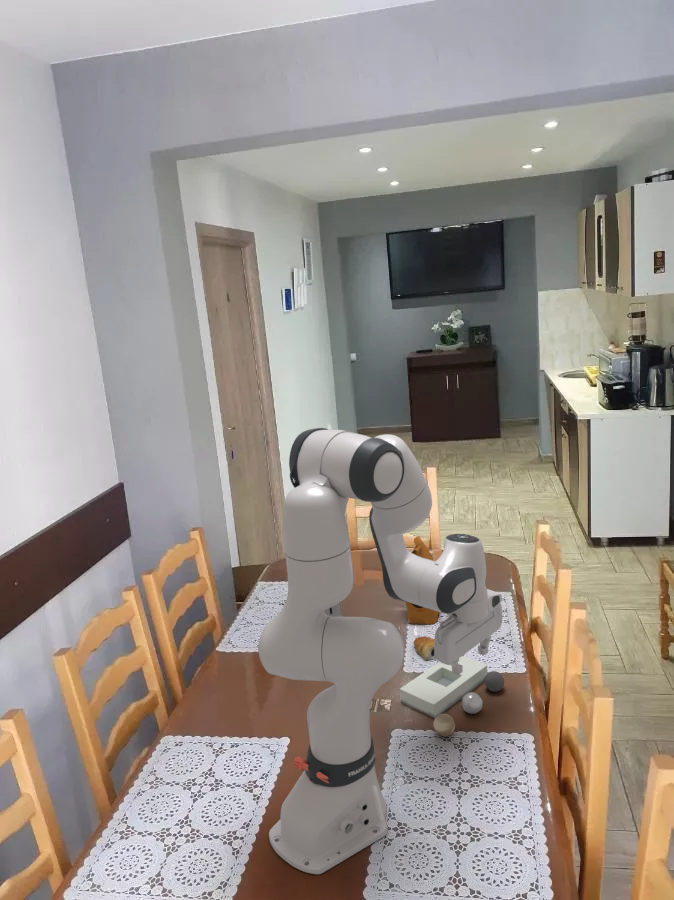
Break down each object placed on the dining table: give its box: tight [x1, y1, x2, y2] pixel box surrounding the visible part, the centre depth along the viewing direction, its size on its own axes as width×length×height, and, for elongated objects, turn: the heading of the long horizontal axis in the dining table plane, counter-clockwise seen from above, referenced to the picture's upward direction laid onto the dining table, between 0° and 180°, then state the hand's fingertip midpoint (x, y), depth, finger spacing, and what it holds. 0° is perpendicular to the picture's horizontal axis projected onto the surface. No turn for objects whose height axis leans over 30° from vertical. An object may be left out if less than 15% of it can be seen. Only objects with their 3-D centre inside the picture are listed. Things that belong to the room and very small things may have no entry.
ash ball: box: [432, 713, 456, 737], centre depth 152 cm, size 4×4×4 cm
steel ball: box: [461, 691, 483, 715], centre depth 159 cm, size 4×4×4 cm
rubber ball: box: [483, 670, 505, 693], centre depth 166 cm, size 4×4×4 cm
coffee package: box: [405, 536, 441, 625], centre depth 203 cm, size 10×12×22 cm
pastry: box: [413, 636, 436, 661], centre depth 186 cm, size 9×7×4 cm
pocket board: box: [399, 655, 488, 719], centre depth 168 cm, size 20×10×4 cm, turn 134°
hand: (470, 663), depth 157 cm, fingers open, 8 cm apart
